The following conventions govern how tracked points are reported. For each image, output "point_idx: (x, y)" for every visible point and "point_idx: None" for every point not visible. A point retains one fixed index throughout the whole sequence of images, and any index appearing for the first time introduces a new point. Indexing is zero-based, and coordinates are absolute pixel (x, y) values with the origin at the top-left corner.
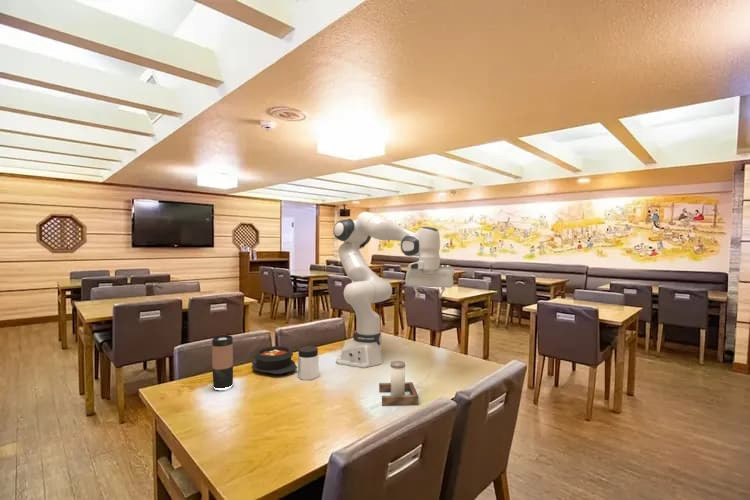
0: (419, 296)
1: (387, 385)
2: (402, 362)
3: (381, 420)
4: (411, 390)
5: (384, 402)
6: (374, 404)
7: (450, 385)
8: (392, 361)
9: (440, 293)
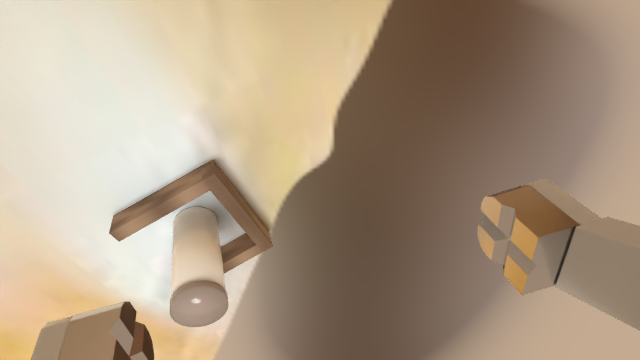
0: (153, 354)
1: (143, 225)
2: (213, 297)
3: (219, 320)
4: (236, 220)
5: None
6: (159, 282)
7: (327, 63)
8: (171, 308)
9: (563, 250)
